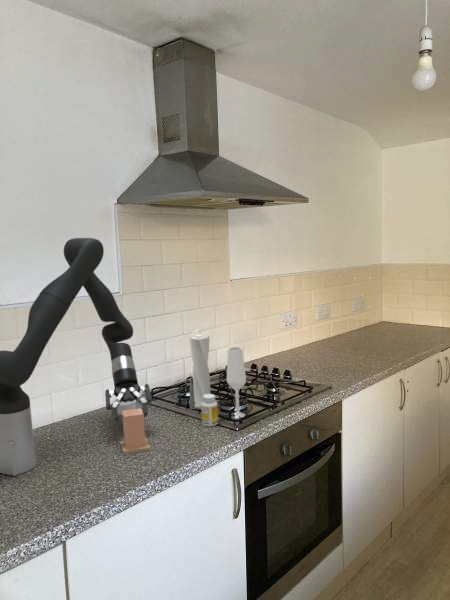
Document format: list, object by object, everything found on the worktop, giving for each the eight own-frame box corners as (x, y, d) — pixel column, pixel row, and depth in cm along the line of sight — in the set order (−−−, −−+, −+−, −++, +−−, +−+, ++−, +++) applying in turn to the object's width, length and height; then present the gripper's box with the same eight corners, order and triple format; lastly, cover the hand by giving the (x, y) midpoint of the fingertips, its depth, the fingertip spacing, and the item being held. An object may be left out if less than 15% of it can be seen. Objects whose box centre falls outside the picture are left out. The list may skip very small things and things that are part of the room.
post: (150, 449, 147) (149, 424, 146) (123, 454, 144) (121, 428, 143) (146, 439, 154) (144, 415, 153) (120, 444, 152) (118, 419, 151)
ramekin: (131, 416, 175) (130, 405, 175) (108, 416, 177) (107, 404, 177) (140, 408, 184) (139, 396, 183) (118, 407, 186) (117, 396, 185)
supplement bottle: (202, 427, 162) (201, 399, 161) (201, 421, 168) (200, 394, 166) (219, 426, 163) (217, 397, 162) (217, 420, 168) (216, 392, 167)
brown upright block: (145, 446, 148) (143, 413, 146) (126, 449, 146) (124, 416, 145) (142, 439, 153) (140, 408, 152) (124, 442, 151) (121, 410, 150)
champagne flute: (244, 421, 166) (242, 351, 163) (225, 419, 168) (222, 350, 165) (249, 414, 172) (247, 346, 169) (231, 412, 174) (228, 346, 171)
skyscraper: (192, 401, 188) (188, 329, 184) (213, 401, 188) (209, 328, 184) (189, 409, 180) (185, 333, 176) (212, 408, 179) (208, 332, 176)
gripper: (102, 369, 158) (108, 416, 148) (146, 364, 162) (155, 409, 153) (102, 381, 163) (108, 427, 154) (145, 375, 168) (153, 419, 159)
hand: (131, 418), depth 154 cm, fingers open, 8 cm apart
